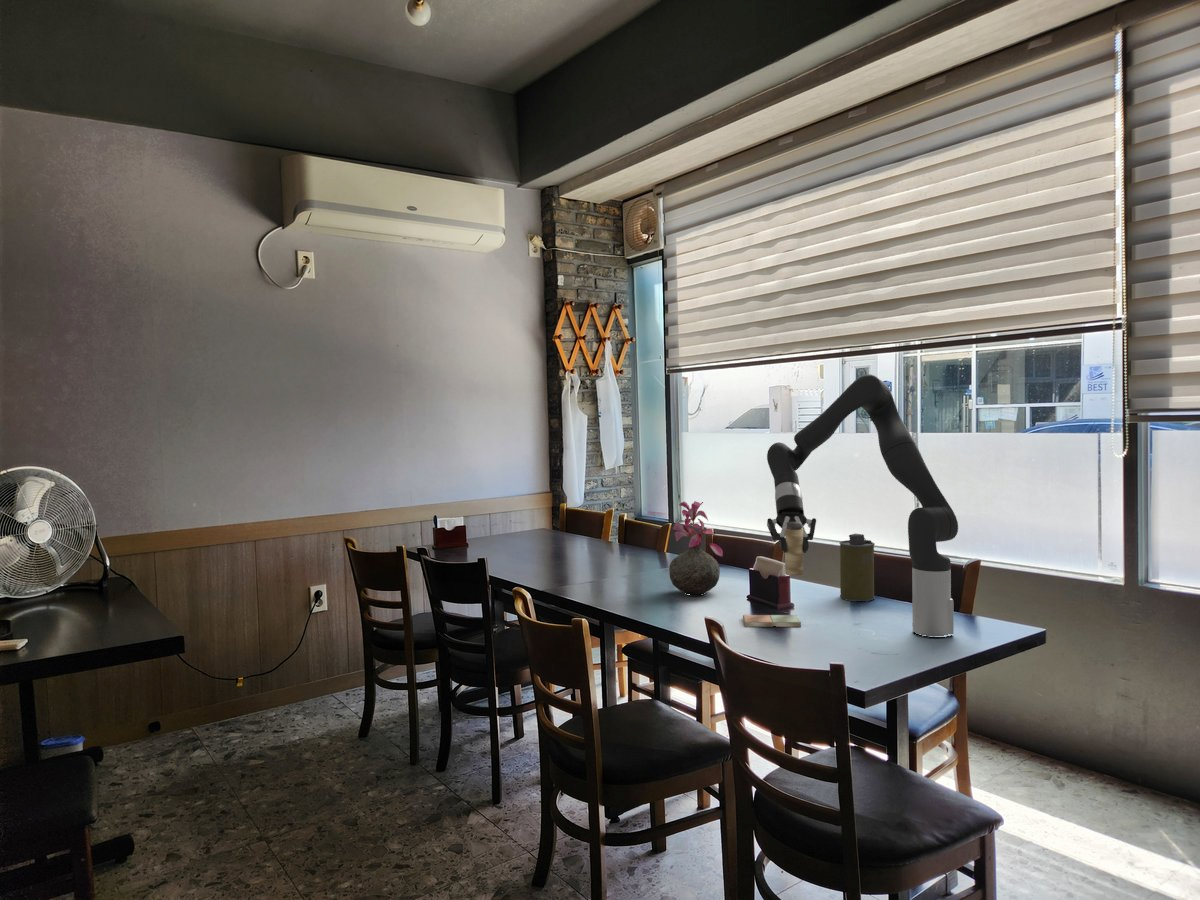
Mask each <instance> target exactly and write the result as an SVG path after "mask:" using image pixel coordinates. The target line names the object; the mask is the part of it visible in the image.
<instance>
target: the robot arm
mask: <svg viewBox="0 0 1200 900" xmlns="http://www.w3.org/2000/svg"><path fill="white" fill-rule="evenodd" d="M860 408H862V409H864V411H865V412H866V413H867V415H868V416H869V418H870V420H871V421H872V423H873V425H874V427H875V429H876V432H877V436H878V445H879V450H880V454H881V456H882V459H883V460H884V461H883V462H885V465H886V466H887V469H888V471H889V472H890V474H891V476H892V477H894V479H895V480H896V481H898V482H899V483H900V484H901V485H902V486H904V487H905V488H906V489H907V490H908V491H910V493H912V495H914V497H916V499H917V500H918V501H919V503H920V506H921V507H917V508H914V509H913V510H912V511H911V512H910V514H909V516H908V521H907V533H908V534H907V536H908V552H909V556H910V560H911V565H912V566H911V567H912V570H911V571H912V573H911V574H912V576H911V577H912V578H911V579H912V583H911V584H912V585H911V586H912V587H911V588H912V589H911V590H912V591H911V592H912V593H911V594H912V595H911V596H912V597H911V598H912V603H911V604H912V608H911V609H912V613H911V614H912V617H911V618H912V625H911V626H912V633H913V632H915V633H917V634H921V635H926V636H944V635H948V634H954V632H955V631H954V628H955V627H954V622H955V621H954V613H955V612H954V609H955V608H954V599H953V598H952V595H951V594H952V593H951V591H952V589H951V588H952V584H951V583H952V582H951V581H952V578H951V577H952V574H951V573H952V572H951V570H952V568H951V567H952V566H951V565H952V564H951V563H952V562H951V559H950V558H949V556H946V555H942V554H941V553H939V552H938V549H937V547H938V546H937V543H942V542H948V541H951V540H954V539H955V538H956V537H957V535H958V532H959V522H958V519H957V516H956V514H955V512H954V510H953V509H952V507H951V505H950V504H949V502H948V500H947V499H946V498H945V496H944V494H943V493H942V491H941V489H940V488H939V487H938V484H937V483H936V481H935V479H934V478H933V476H932V474H931V472H930V470H929V468H928V467H927V465H926V462H925V460H924V458H923V456H922V453H921V452H920V449H919V448H918V446H917V443H916V442H915V440H914V438H913V436H912V435H911V433H910V431H909V429H908V428H907V426H906V425H905V422H904V421H903V420H902V418H901V415H900V413H899V411H898V408H897V405H896V402H895V399H894V397H893V394H892V391H891V389H890V387H889V385H887V384H886V382H884V381H882V379H880V378H879V377H877V376H876V375H874V374H871V373H870V374H867V373H866V374H863V375H861V376H859V377H858V378H856V379H855V380H854V381H853V382H852V383H851V384H849V386H848V387H847V388H846V389H845V390H844V391H843V392H842V393H841V394H840V395H839V396H838V397H837V398H836V399H835V400H834V401H833V403H832V404H830V405H829V406H828V407H827V408H826V410H824V411H823V412H822V413H821V414H820V415H819V416H818V417H816V418H815V419H814V420H812V421H811V422H810V423H808V424H807V425H806V426H804V427H803V428H802V429H801V430H799V431H798V432H796V434H795V435H794V436H793V440H794V443H795V445H796V446H795V447H794V449H792V448H790V447H789V446H788V445H787V444H785V443H784V442H774V443H773V444H772V445H770V447H769V448H768V450H767V454H766V460H767V464H768V467H769V470H770V473H771V475H772V477H773V482H774V499H775V509H776V518H774V519H773V518H771V517H769V518H768V519H767V521H766V527H767V529H768V532H769V534H770V536H771V538H772V540H773V541H776V540H777V541H778V542H779V546H780V551H781V552H783V554H785V553H786V550H787V547H786V538H785V528H787V522H801V523H802V528H803V554H804V553H806V554H807V551H809V548H810V546H809V541H813V539H814V535H815V530H816V526H817V525H816V524H817V519H816V517H815V518H814V517H813V518H811V519H809V518H807V516H805V510H804V504H803V496H802V491H801V488H800V482H799V480H800V479H799V475H798V473H797V470H798V469H800V467H801V466H802V465H803V464H804V462H805V461H806V460H807V459H808V458H809V456H810V455H811V453H812V452H813V451H815V450H817V448H819V447H820V446H821V445H823V444H824V443H825V442H827V441H828V440H829V439H830V438H832V436H833V435H834V434H835V432H836V431H837V430H838V428H839V427H840V425H841V424H842V422H843V421H844V420H845V419H846V418H847V417H848V416H850V415H851V414H852V413H854V412H855V411H857V410H859V409H860ZM776 524H777V525H778V527H779V528H781V530H780V533H779V532H778V531H777V529H776ZM806 524H807V527H808V528H809V533H807V531H806V529H805V525H806ZM954 635H955V634H954Z"/></svg>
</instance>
